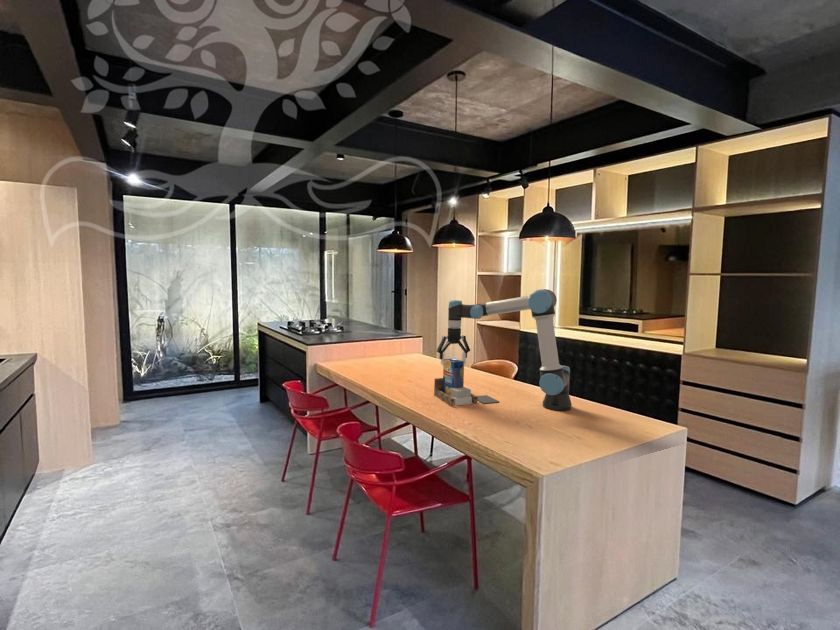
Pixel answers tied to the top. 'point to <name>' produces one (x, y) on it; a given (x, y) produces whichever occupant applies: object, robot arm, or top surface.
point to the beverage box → (452, 375)
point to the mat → (486, 399)
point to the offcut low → (462, 400)
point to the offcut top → (461, 392)
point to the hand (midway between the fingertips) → (453, 364)
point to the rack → (444, 397)
